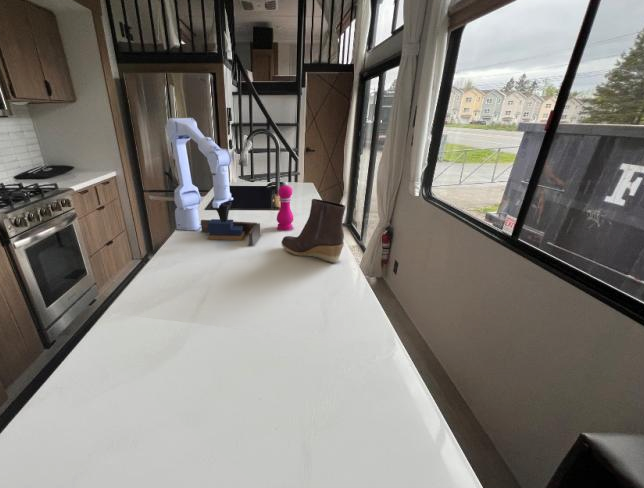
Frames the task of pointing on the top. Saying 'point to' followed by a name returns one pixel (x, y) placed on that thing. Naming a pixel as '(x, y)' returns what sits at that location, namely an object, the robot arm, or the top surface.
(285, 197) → the pepper mill
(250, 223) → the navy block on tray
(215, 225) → the trainer
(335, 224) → the boot
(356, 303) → the top surface
